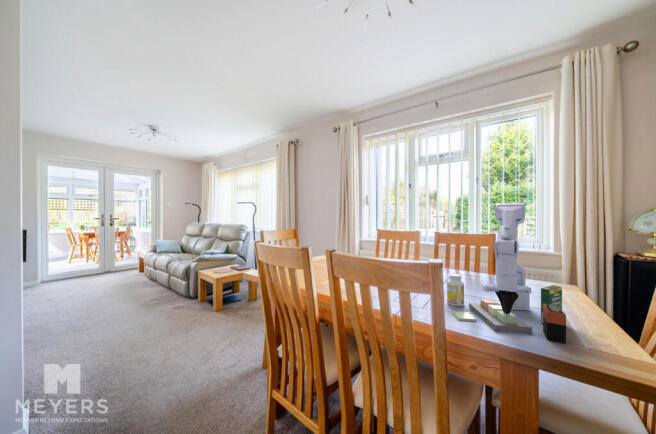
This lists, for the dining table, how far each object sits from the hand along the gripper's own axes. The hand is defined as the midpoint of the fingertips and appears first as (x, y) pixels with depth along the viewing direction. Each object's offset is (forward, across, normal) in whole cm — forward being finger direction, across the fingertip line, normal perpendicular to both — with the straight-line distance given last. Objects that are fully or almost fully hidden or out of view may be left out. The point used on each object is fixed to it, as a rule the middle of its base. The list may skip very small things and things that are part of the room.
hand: (506, 312), depth 82 cm
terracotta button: (+3, 0, +12) cm, 12 cm away
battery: (+5, +10, -6) cm, 13 cm away
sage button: (+3, 0, 0) cm, 3 cm away
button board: (+5, 0, +6) cm, 8 cm away
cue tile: (+5, -12, +6) cm, 14 cm away
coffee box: (+5, +18, +5) cm, 19 cm away
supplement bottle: (+5, -9, +20) cm, 23 cm away
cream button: (+3, 0, +6) cm, 7 cm away
